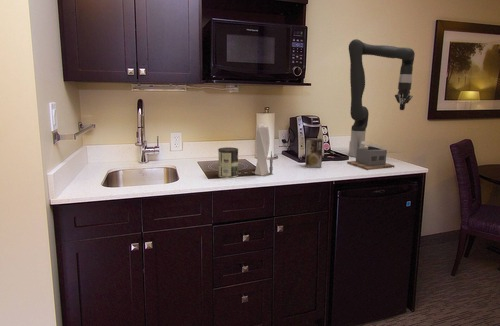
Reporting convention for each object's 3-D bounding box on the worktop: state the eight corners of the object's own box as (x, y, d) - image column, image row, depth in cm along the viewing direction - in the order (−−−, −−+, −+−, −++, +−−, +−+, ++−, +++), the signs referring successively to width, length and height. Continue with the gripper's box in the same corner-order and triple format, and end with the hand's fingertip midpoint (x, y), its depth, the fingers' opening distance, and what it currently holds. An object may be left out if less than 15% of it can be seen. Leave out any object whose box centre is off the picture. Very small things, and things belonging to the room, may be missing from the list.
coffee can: (235, 172, 196) (235, 146, 193) (240, 177, 186) (240, 150, 183) (216, 173, 193) (216, 147, 190) (220, 178, 184) (220, 151, 181)
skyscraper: (262, 177, 188) (264, 123, 182) (251, 174, 193) (252, 121, 188) (273, 174, 194) (274, 121, 188) (261, 172, 199) (262, 120, 194)
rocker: (361, 143, 217) (361, 140, 216) (375, 147, 221) (375, 144, 221) (367, 145, 211) (368, 142, 211) (382, 149, 216) (382, 146, 215)
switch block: (355, 162, 222) (356, 145, 219) (371, 160, 226) (373, 145, 224) (369, 166, 210) (370, 149, 208) (385, 164, 215) (387, 148, 213)
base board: (347, 163, 223) (347, 161, 223) (373, 161, 230) (373, 159, 230) (366, 169, 207) (366, 167, 206) (394, 167, 214) (394, 165, 214)
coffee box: (320, 165, 217) (321, 138, 213) (321, 167, 211) (323, 140, 207) (304, 164, 218) (306, 138, 214) (305, 167, 211) (306, 139, 208)
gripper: (392, 81, 232) (389, 109, 235) (408, 82, 220) (405, 111, 223) (401, 82, 234) (398, 109, 238) (418, 82, 222) (414, 110, 226)
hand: (401, 110), depth 231 cm, fingers closed
